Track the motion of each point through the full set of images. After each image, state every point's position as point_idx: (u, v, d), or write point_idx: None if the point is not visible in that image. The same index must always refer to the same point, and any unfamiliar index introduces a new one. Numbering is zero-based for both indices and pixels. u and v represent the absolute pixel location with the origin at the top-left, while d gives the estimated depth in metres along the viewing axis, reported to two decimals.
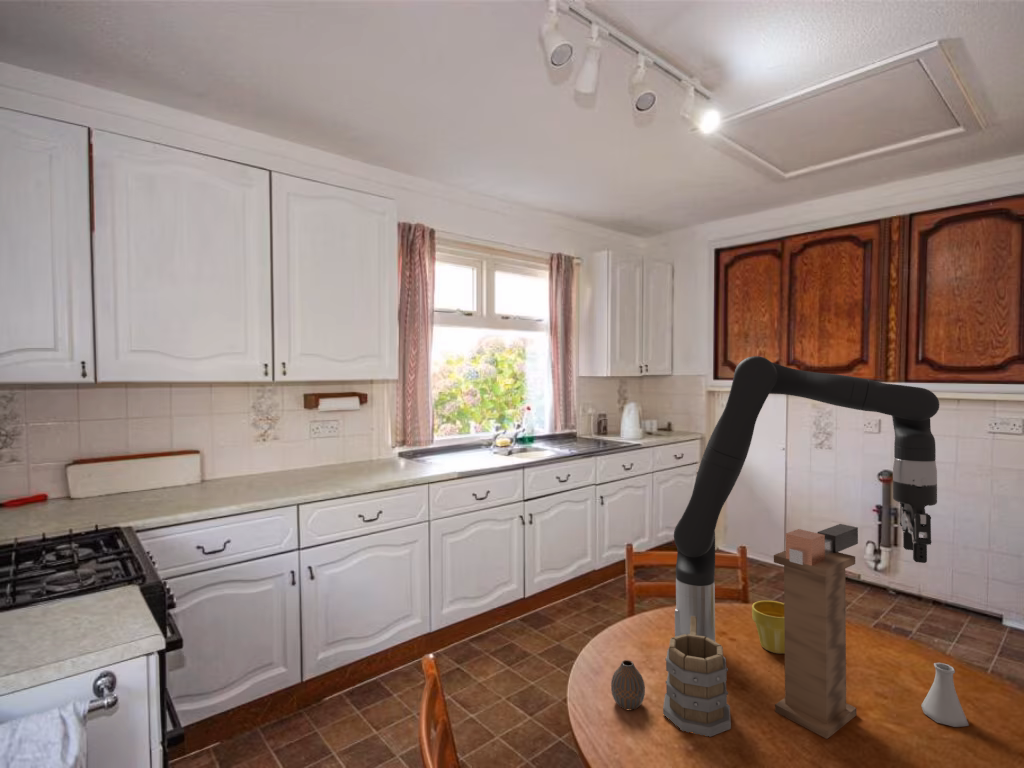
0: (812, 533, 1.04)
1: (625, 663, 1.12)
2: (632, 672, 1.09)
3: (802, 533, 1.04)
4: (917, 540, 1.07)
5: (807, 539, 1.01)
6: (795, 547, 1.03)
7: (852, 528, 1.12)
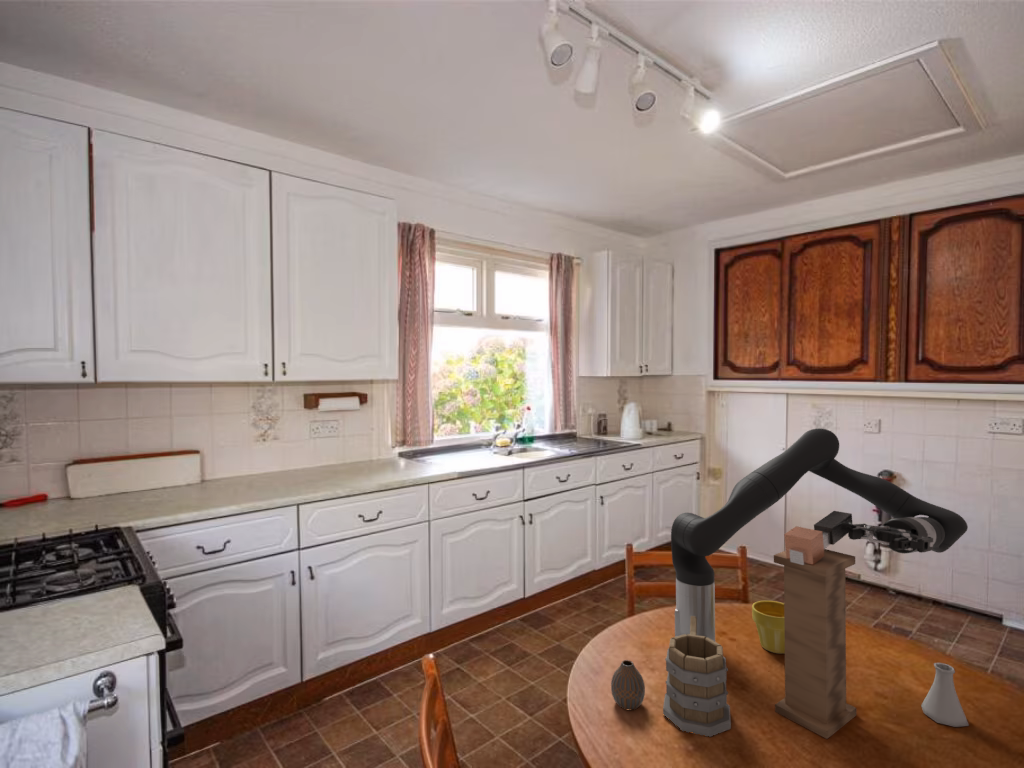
0: (810, 530, 1.04)
1: (625, 663, 1.12)
2: (632, 672, 1.09)
3: (800, 532, 1.04)
4: (924, 541, 1.07)
5: (806, 540, 1.01)
6: (795, 547, 1.03)
7: (846, 515, 1.13)
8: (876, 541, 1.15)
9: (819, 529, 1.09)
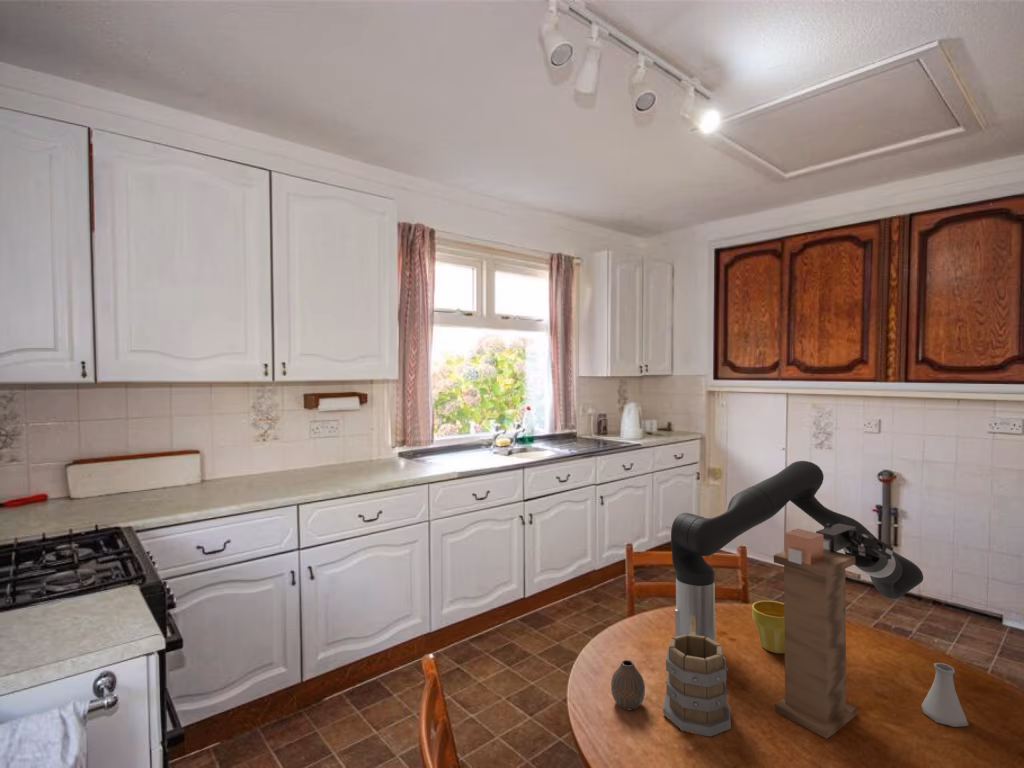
0: (811, 533, 1.04)
1: (625, 663, 1.12)
2: (632, 673, 1.09)
3: (801, 533, 1.04)
4: (877, 539, 1.10)
5: (806, 539, 1.01)
6: (794, 546, 1.03)
7: (850, 528, 1.12)
8: None
9: None
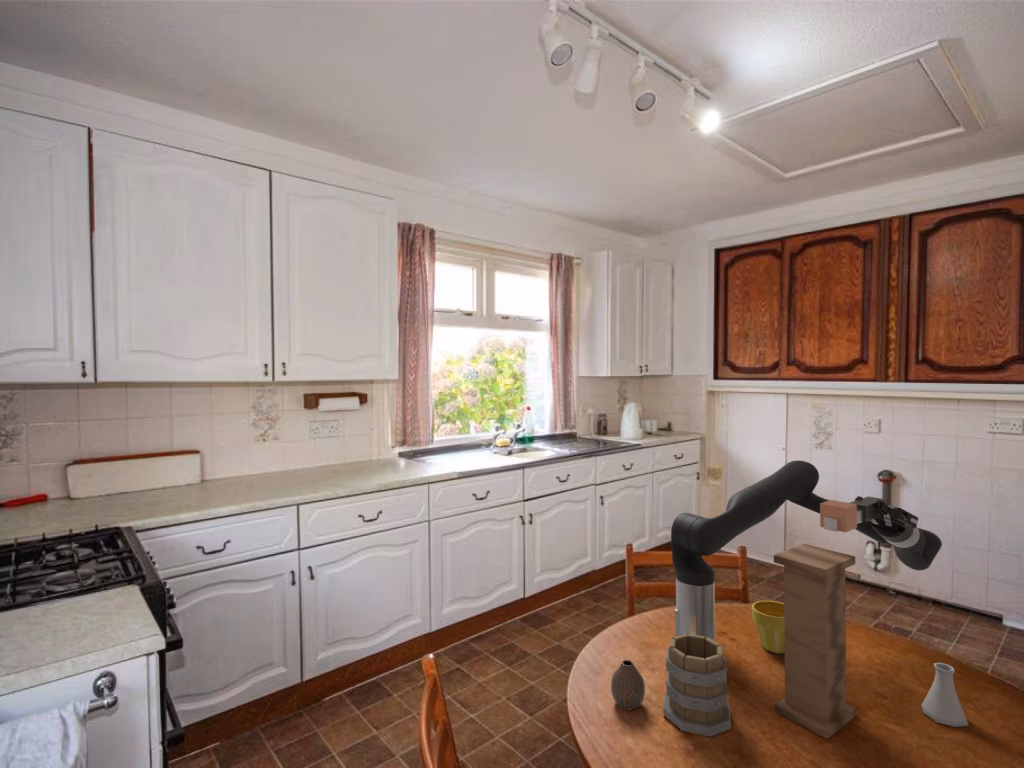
0: (845, 503, 1.12)
1: (625, 663, 1.12)
2: (633, 672, 1.09)
3: (835, 503, 1.12)
4: (901, 509, 1.18)
5: (841, 508, 1.09)
6: (829, 516, 1.11)
7: None
8: None
9: None
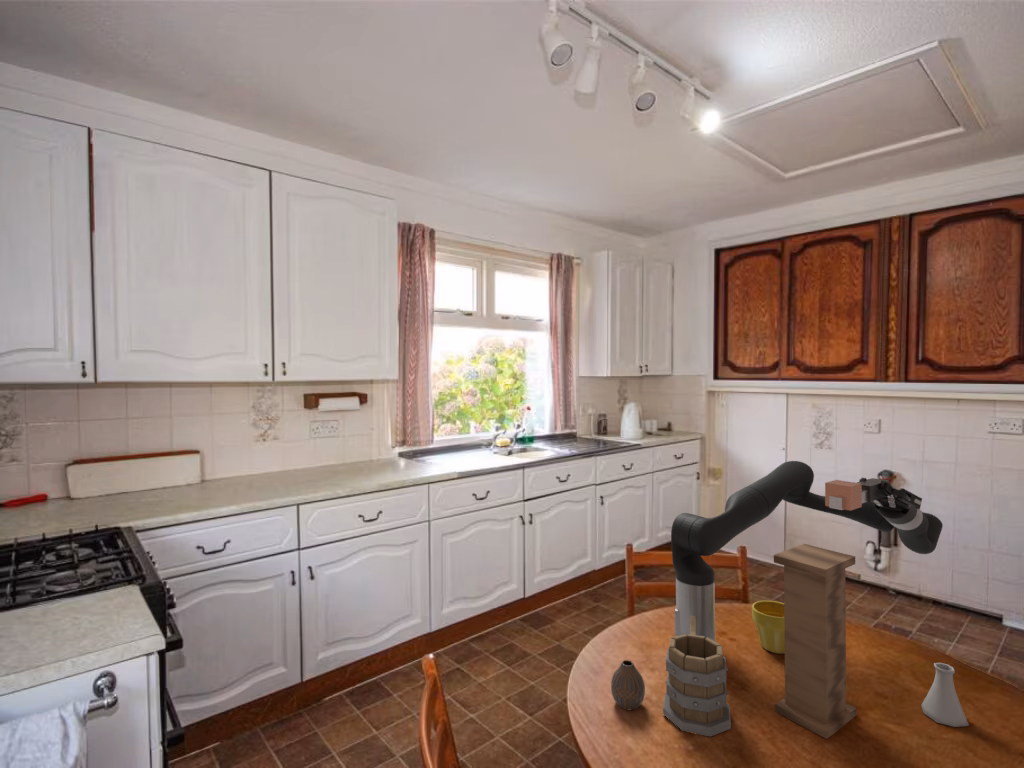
0: (849, 482, 1.13)
1: (625, 663, 1.12)
2: (632, 672, 1.09)
3: (840, 482, 1.13)
4: (905, 490, 1.19)
5: (846, 487, 1.10)
6: (834, 494, 1.12)
7: None
8: None
9: None
